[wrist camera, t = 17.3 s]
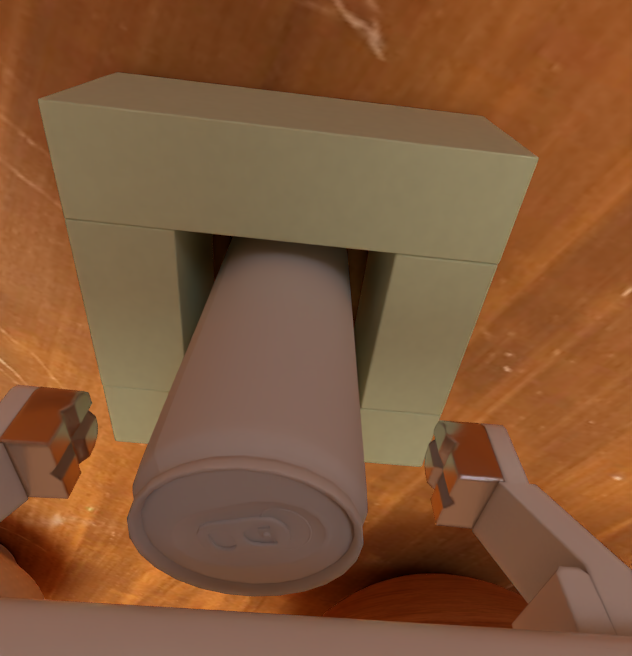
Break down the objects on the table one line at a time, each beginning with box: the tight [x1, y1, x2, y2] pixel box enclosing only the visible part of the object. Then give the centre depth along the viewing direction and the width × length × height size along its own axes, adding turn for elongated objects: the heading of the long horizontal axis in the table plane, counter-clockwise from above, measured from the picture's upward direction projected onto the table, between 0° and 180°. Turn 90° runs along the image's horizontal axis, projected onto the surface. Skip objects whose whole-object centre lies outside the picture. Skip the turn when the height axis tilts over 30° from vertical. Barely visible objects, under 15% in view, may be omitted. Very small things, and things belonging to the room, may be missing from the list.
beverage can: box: [127, 236, 368, 596], centre depth 14 cm, size 5×5×12 cm
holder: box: [38, 72, 538, 467], centre depth 17 cm, size 12×12×5 cm
